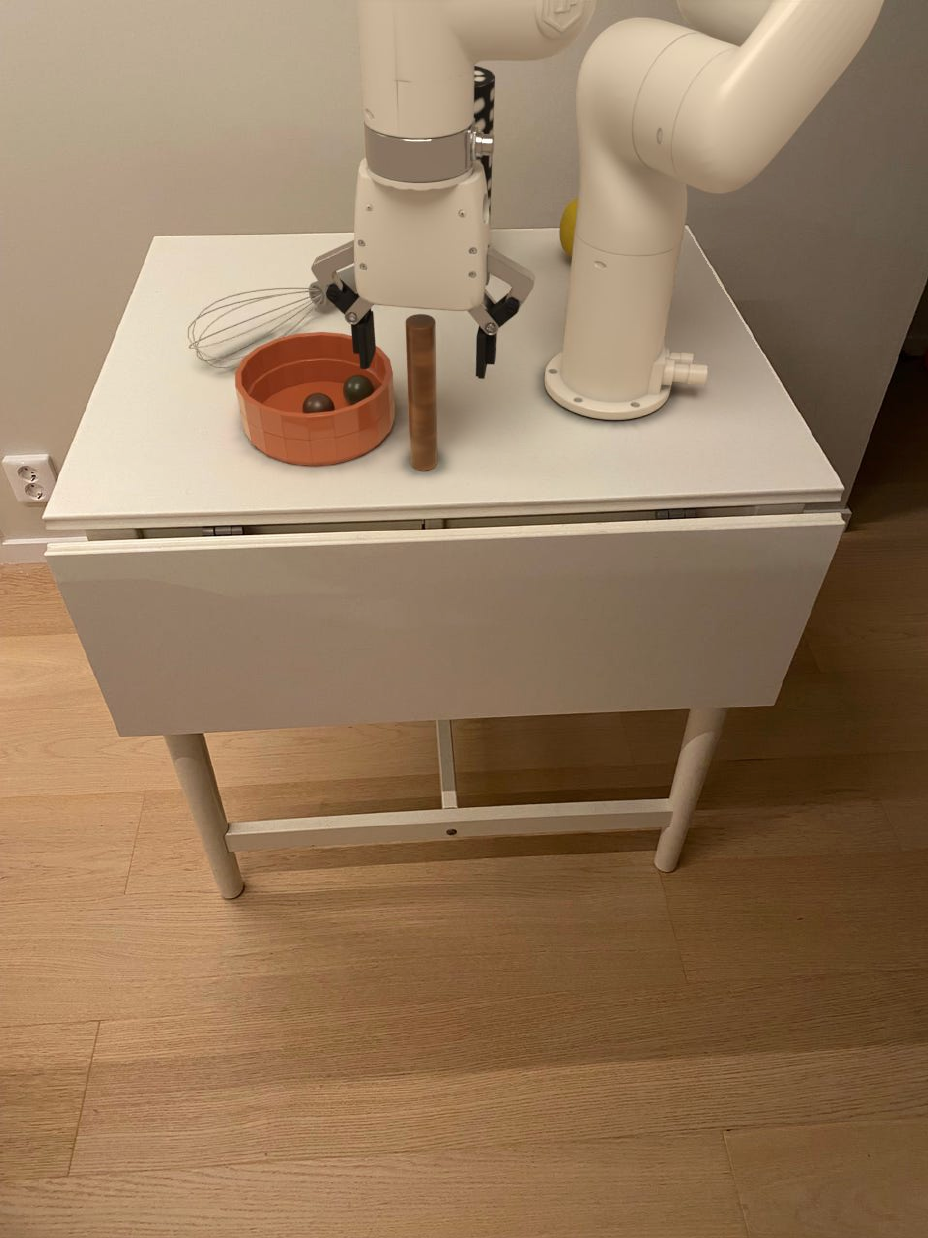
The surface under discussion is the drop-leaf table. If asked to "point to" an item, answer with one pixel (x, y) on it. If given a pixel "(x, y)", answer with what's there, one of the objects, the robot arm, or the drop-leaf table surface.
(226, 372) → the drop-leaf table surface
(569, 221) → the lemon
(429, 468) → the stirring stick
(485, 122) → the white-spotted black cylinder
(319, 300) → the kitchen whisk
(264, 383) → the bowl
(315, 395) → the bead
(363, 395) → the bead
